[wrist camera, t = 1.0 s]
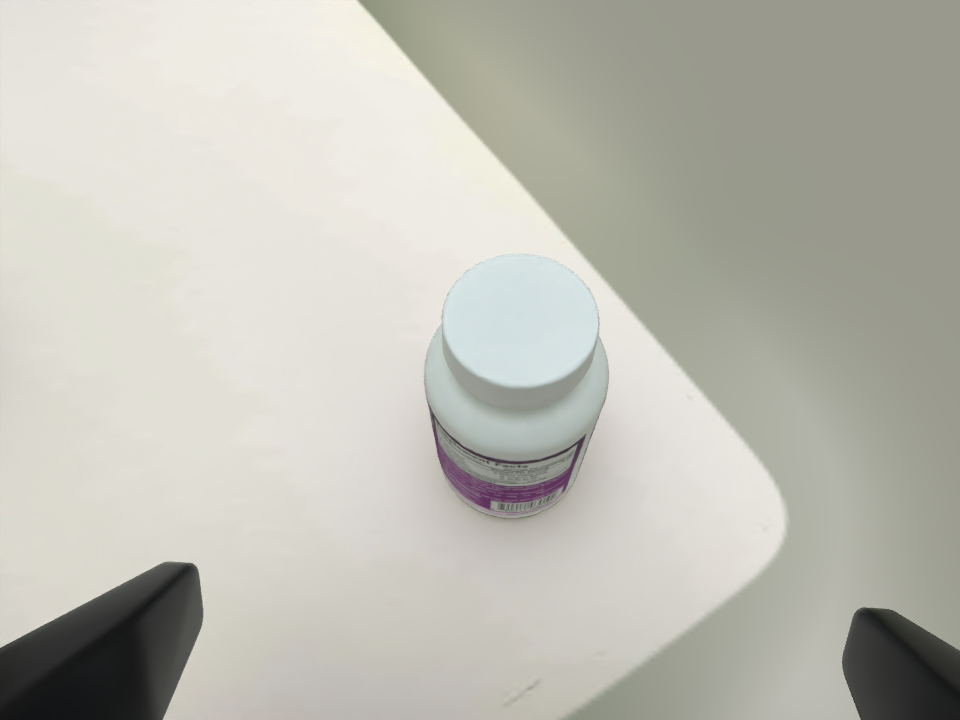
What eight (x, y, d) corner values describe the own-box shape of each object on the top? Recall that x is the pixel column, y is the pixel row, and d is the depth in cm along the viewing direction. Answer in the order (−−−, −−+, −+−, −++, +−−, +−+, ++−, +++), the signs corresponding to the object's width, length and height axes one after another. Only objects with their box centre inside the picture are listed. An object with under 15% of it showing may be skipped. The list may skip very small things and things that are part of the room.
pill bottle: (480, 368, 26) (478, 202, 18) (601, 424, 25) (660, 275, 17) (411, 481, 24) (372, 352, 16) (541, 550, 23) (575, 450, 14)
